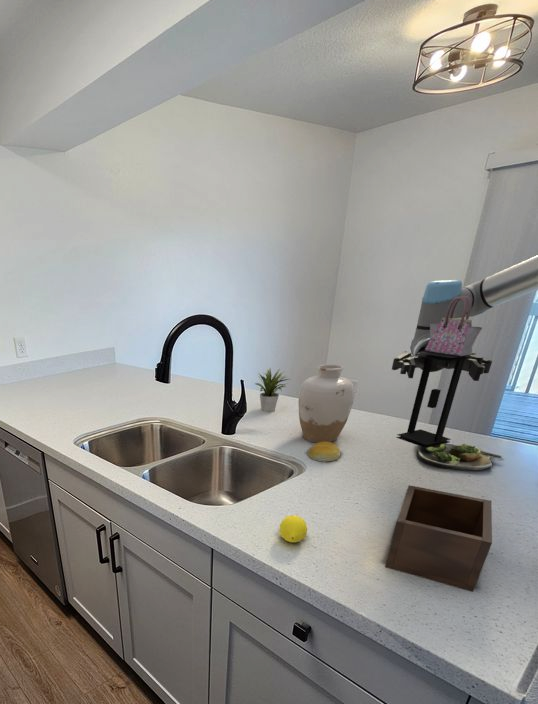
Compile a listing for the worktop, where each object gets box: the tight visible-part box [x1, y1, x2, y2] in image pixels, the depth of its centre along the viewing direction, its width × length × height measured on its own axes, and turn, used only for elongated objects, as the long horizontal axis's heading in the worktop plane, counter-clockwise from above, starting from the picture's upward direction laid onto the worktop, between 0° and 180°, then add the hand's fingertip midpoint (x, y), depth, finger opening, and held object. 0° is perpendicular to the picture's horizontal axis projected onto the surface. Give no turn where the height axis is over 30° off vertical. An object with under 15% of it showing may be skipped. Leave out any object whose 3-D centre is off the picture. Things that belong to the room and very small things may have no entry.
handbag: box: [395, 296, 483, 448], centre depth 92 cm, size 10×8×30 cm
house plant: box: [254, 368, 293, 413], centre depth 166 cm, size 14×14×16 cm
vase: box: [297, 363, 355, 444], centre depth 136 cm, size 16×16×23 cm
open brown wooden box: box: [384, 484, 493, 592], centre depth 81 cm, size 13×16×10 cm
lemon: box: [279, 514, 308, 543], centre depth 89 cm, size 7×5×5 cm
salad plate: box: [416, 443, 502, 471], centre depth 120 cm, size 19×18×5 cm
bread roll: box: [307, 442, 341, 463], centre depth 127 cm, size 8×9×4 cm
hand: (444, 372), depth 88 cm, fingers closed on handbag, 11 cm apart
